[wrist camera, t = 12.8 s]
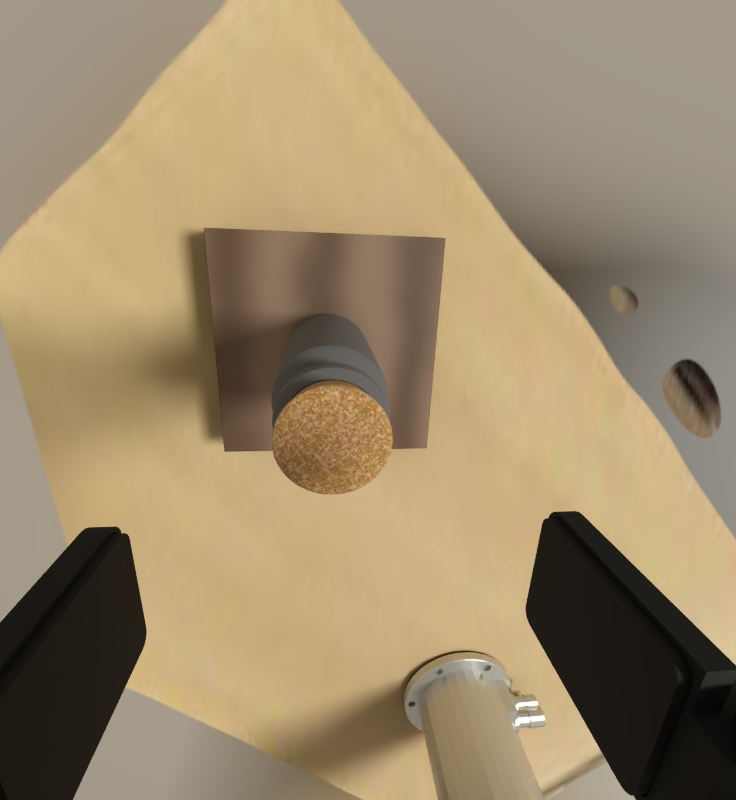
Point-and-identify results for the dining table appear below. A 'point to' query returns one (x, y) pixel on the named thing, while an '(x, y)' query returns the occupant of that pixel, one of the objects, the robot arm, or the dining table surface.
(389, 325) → the base
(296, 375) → the bottle
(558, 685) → the dining table surface
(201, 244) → the dining table surface
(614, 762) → the robot arm
